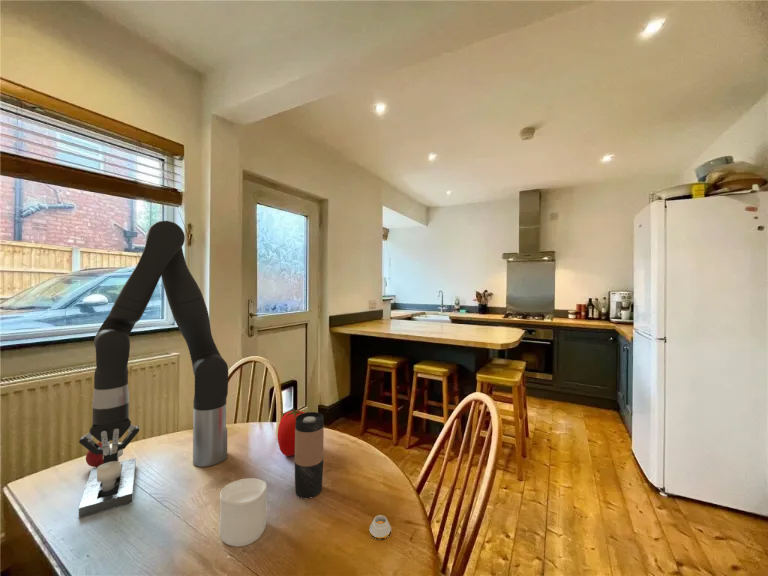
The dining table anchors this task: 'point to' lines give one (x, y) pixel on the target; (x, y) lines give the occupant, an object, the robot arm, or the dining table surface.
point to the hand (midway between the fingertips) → (110, 466)
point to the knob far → (118, 451)
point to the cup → (243, 511)
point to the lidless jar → (380, 527)
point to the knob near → (108, 474)
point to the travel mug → (309, 454)
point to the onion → (95, 458)
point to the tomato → (288, 432)
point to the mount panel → (106, 500)
